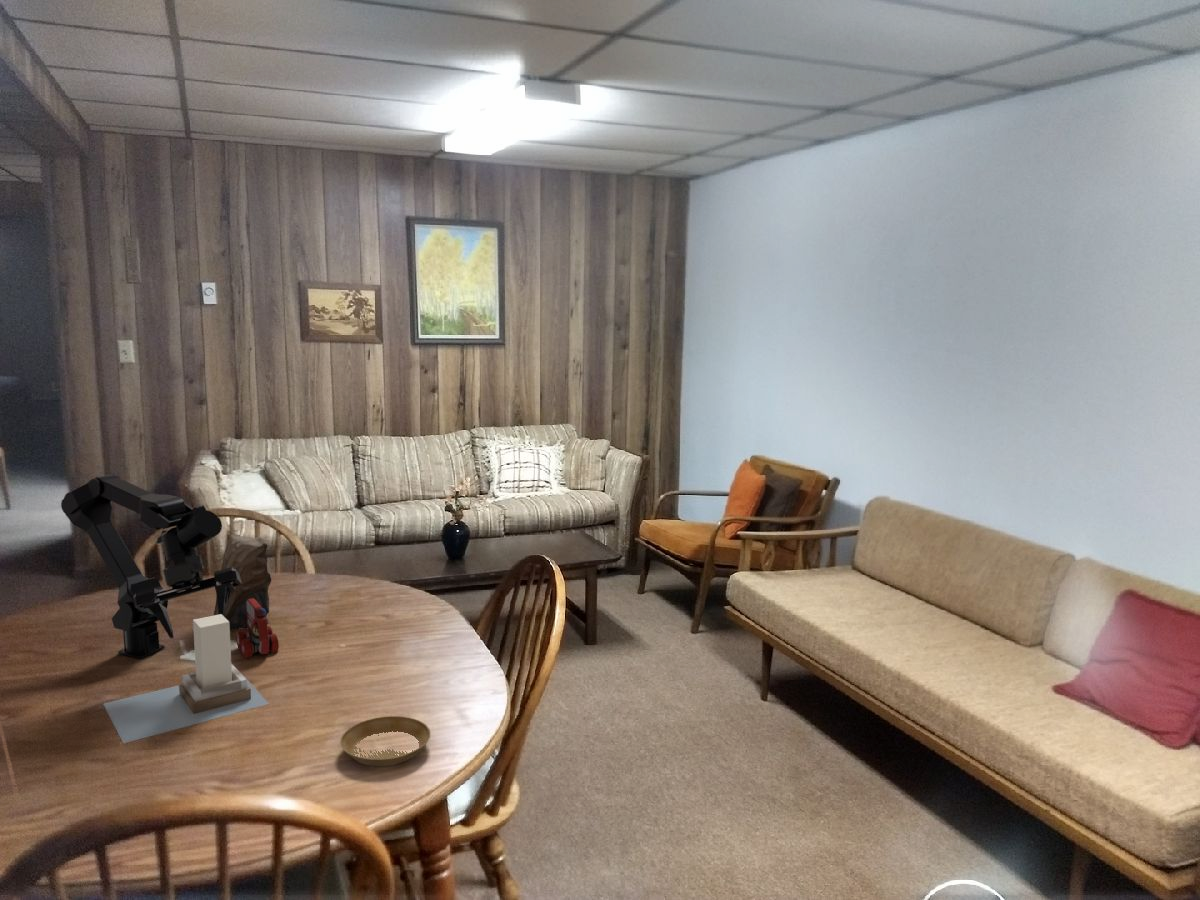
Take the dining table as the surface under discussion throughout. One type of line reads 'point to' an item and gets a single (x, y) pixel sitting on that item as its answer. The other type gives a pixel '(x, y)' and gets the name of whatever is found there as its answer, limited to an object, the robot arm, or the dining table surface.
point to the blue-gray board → (166, 712)
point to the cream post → (212, 651)
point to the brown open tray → (214, 692)
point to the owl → (246, 577)
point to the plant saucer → (384, 725)
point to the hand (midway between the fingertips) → (197, 630)
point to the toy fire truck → (256, 632)
